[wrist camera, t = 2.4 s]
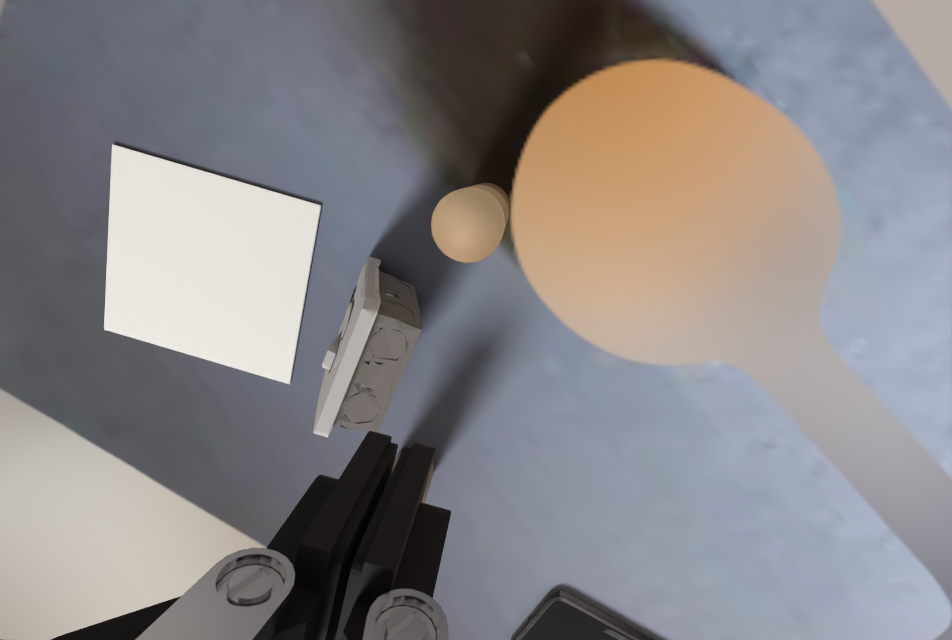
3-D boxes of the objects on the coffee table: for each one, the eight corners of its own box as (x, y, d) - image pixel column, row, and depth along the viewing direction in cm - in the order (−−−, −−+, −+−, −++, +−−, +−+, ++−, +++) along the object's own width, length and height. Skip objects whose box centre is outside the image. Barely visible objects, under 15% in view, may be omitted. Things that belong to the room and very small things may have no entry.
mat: (114, 144, 34) (112, 144, 34) (321, 205, 34) (320, 205, 34) (105, 328, 38) (104, 329, 38) (290, 383, 38) (289, 384, 38)
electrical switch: (370, 251, 35) (334, 286, 26) (438, 280, 35) (425, 324, 27) (328, 362, 37) (283, 428, 29) (392, 387, 38) (366, 459, 29)
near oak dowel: (469, 176, 32) (441, 179, 21) (516, 190, 32) (512, 200, 21) (457, 224, 33) (423, 251, 22) (502, 237, 33) (492, 271, 22)
